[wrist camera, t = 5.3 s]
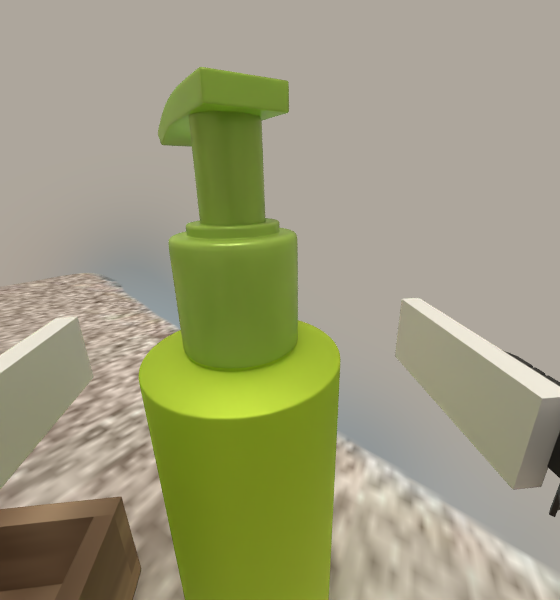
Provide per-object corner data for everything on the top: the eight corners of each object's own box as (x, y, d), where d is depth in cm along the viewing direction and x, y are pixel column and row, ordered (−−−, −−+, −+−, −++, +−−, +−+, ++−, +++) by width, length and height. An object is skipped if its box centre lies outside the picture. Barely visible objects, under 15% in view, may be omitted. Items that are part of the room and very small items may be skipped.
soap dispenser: (276, 502, 18) (262, 125, 12) (356, 641, 13) (419, 58, 6) (176, 557, 16) (82, 110, 9) (219, 764, 10) (50, -37, 3)
